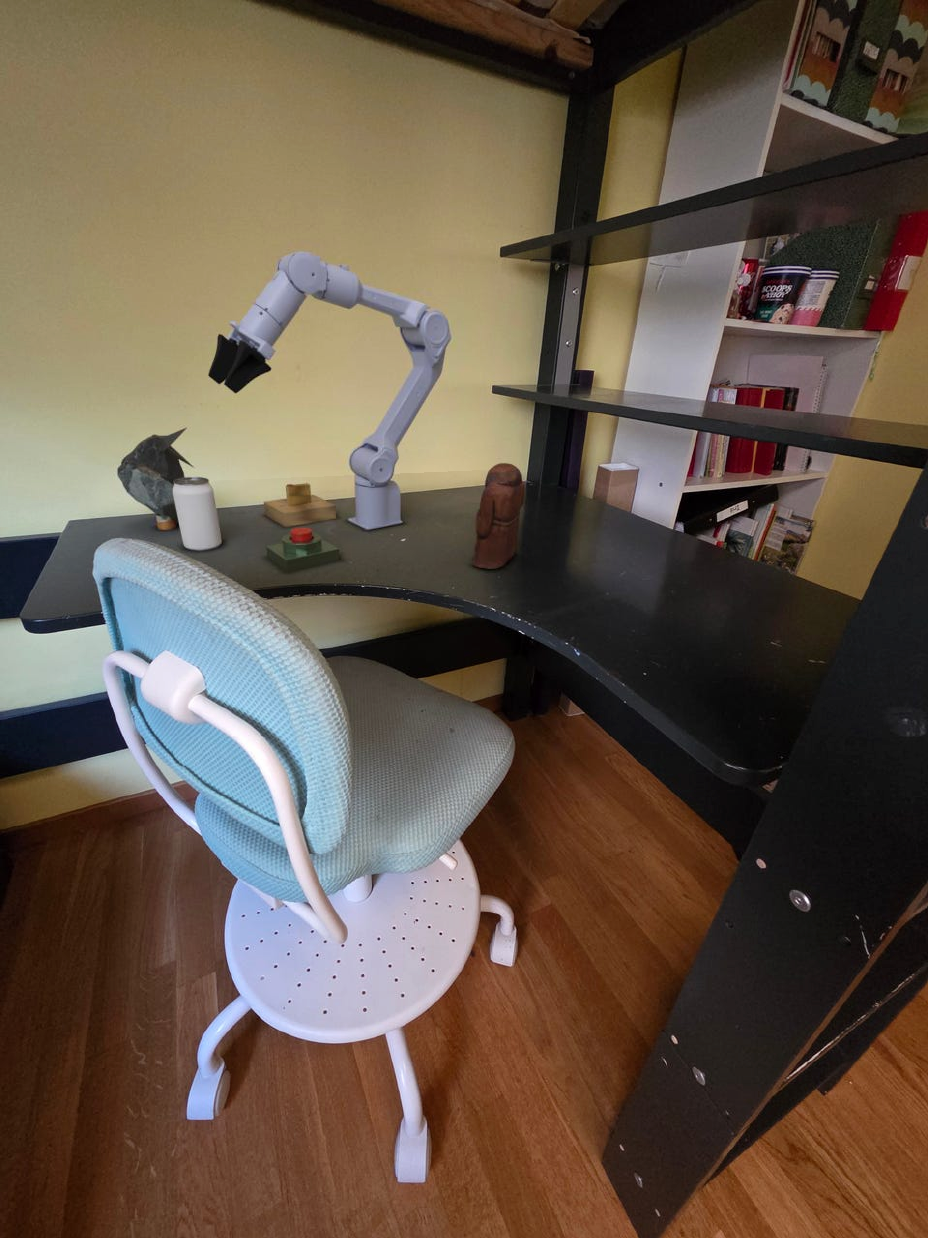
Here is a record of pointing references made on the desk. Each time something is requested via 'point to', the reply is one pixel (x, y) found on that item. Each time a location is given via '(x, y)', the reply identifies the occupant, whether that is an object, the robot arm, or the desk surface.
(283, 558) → the green button base
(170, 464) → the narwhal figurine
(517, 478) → the wooden figurine
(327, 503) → the plate
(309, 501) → the lock knob
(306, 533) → the bell button
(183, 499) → the can
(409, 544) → the desk surface
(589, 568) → the desk surface
